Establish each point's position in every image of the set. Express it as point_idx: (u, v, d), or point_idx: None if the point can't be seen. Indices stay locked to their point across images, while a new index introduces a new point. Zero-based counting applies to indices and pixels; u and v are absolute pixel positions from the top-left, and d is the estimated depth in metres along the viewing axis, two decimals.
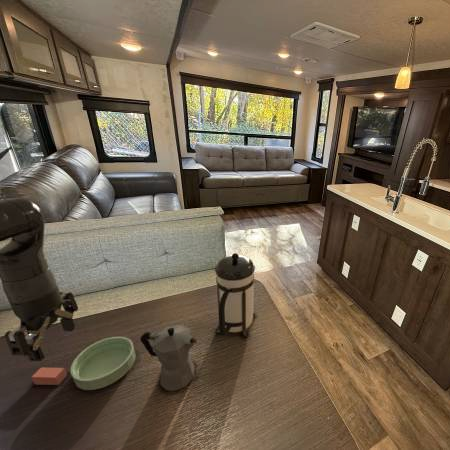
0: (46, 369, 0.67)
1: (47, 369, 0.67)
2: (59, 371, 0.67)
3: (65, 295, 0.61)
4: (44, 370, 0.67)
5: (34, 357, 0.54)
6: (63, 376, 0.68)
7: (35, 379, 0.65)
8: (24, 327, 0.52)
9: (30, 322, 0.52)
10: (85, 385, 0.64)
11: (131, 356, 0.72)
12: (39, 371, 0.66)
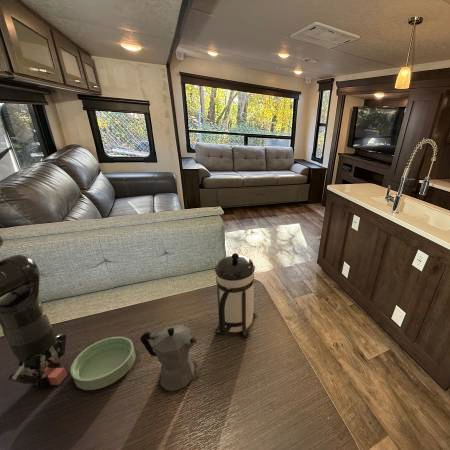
0: (46, 369, 0.67)
1: (47, 369, 0.67)
2: (59, 371, 0.67)
3: (60, 336, 0.69)
4: None
5: (42, 384, 0.64)
6: (63, 376, 0.68)
7: None
8: (23, 368, 0.59)
9: (26, 364, 0.60)
10: (85, 385, 0.64)
11: (131, 356, 0.72)
12: None
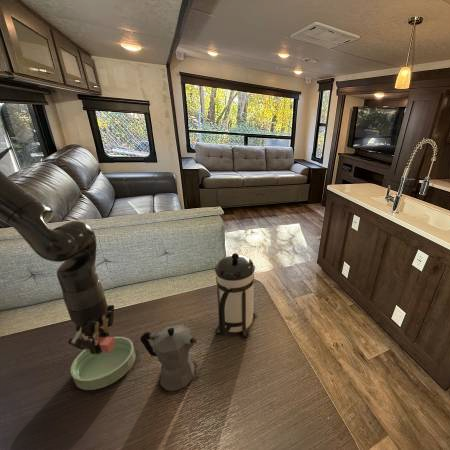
0: None
1: (98, 338, 0.69)
2: (110, 340, 0.68)
3: (109, 306, 0.70)
4: None
5: (95, 351, 0.66)
6: (113, 345, 0.69)
7: None
8: (80, 333, 0.61)
9: (83, 329, 0.61)
10: (85, 385, 0.64)
11: (131, 356, 0.72)
12: (90, 339, 0.68)
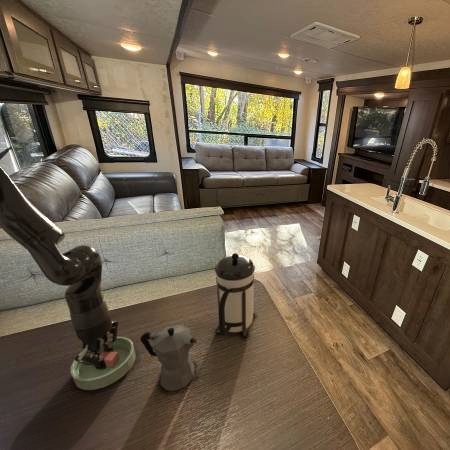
0: None
1: None
2: (114, 355, 0.72)
3: (113, 323, 0.74)
4: None
5: (99, 366, 0.69)
6: (117, 359, 0.73)
7: None
8: (86, 350, 0.64)
9: (89, 346, 0.64)
10: (85, 385, 0.64)
11: (131, 356, 0.72)
12: None
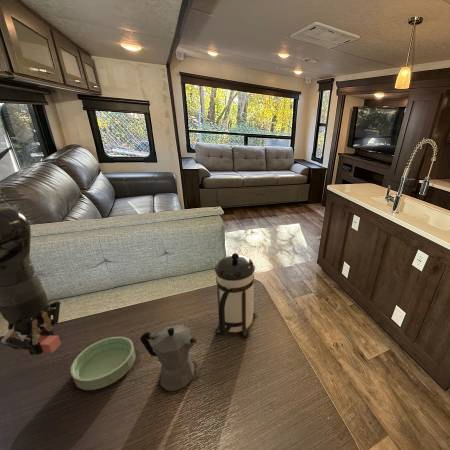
0: (39, 336, 0.63)
1: (40, 336, 0.63)
2: (53, 338, 0.63)
3: (53, 303, 0.65)
4: (37, 337, 0.63)
5: (34, 351, 0.60)
6: (57, 344, 0.64)
7: None
8: (13, 331, 0.55)
9: (17, 327, 0.56)
10: (85, 385, 0.64)
11: (131, 356, 0.72)
12: None
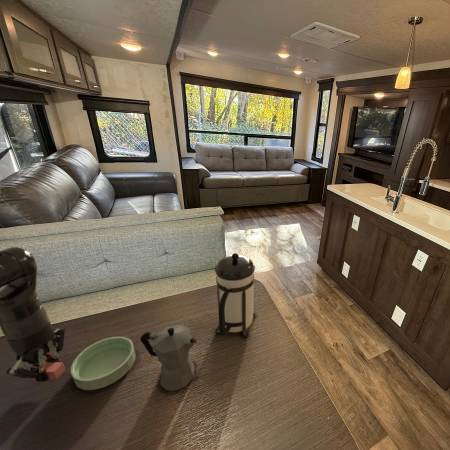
0: (45, 363, 0.66)
1: (46, 363, 0.66)
2: (58, 365, 0.66)
3: (58, 330, 0.68)
4: (43, 364, 0.66)
5: (40, 378, 0.64)
6: (62, 371, 0.67)
7: None
8: (21, 362, 0.59)
9: (24, 358, 0.59)
10: (85, 385, 0.64)
11: (131, 356, 0.72)
12: None
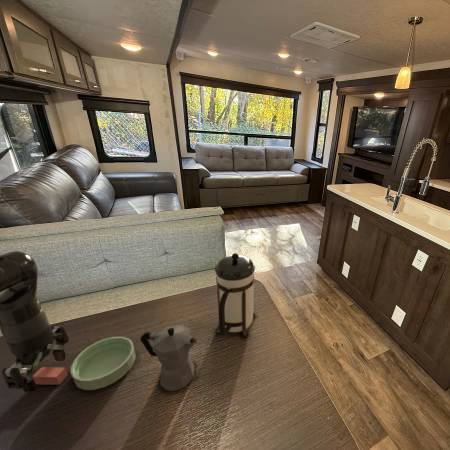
0: (47, 369, 0.67)
1: (48, 369, 0.67)
2: (60, 371, 0.67)
3: (57, 329, 0.68)
4: (45, 370, 0.67)
5: (28, 388, 0.61)
6: (64, 376, 0.68)
7: (36, 379, 0.65)
8: (19, 363, 0.59)
9: (24, 358, 0.59)
10: (85, 385, 0.64)
11: (131, 356, 0.72)
12: (39, 371, 0.66)
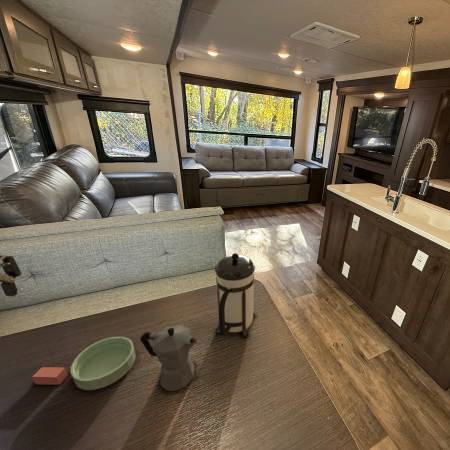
0: (47, 369, 0.67)
1: (48, 369, 0.67)
2: (60, 371, 0.67)
3: (5, 258, 0.60)
4: (45, 370, 0.67)
5: None
6: (64, 376, 0.68)
7: (36, 379, 0.65)
8: None
9: None
10: (85, 385, 0.64)
11: (131, 356, 0.72)
12: (39, 371, 0.66)
